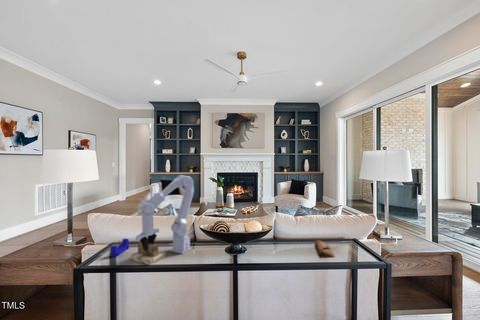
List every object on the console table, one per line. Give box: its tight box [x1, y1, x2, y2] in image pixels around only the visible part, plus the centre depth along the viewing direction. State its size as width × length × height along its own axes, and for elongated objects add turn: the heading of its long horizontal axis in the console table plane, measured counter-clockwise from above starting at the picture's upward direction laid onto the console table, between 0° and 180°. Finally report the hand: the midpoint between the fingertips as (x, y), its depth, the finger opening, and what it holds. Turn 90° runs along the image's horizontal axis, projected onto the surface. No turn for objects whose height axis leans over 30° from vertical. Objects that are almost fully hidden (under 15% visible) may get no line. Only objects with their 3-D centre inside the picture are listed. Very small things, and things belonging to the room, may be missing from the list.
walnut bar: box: [137, 242, 159, 256], centre depth 132 cm, size 12×3×5 cm, turn 64°
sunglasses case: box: [314, 239, 336, 258], centre depth 141 cm, size 18×7×7 cm
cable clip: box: [110, 238, 130, 258], centre depth 140 cm, size 12×4×6 cm, turn 172°
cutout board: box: [130, 249, 167, 266], centre depth 132 cm, size 14×11×2 cm
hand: (148, 249), depth 132 cm, fingers closed on walnut bar, 3 cm apart
